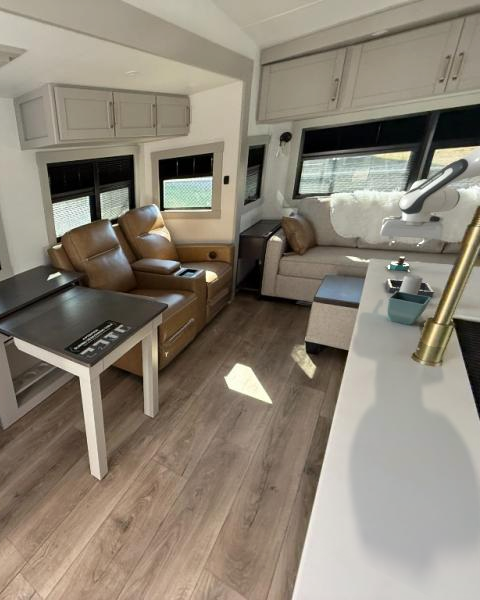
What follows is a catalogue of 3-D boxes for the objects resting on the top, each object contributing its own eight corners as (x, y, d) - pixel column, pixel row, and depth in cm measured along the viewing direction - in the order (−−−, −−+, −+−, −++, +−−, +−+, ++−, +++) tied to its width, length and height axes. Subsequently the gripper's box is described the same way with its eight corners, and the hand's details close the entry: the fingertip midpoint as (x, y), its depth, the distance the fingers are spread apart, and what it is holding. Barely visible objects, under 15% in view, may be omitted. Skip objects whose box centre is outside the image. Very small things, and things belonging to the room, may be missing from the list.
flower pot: (381, 320, 112) (388, 297, 108) (388, 313, 116) (396, 290, 112) (415, 329, 105) (424, 304, 101) (422, 320, 109) (431, 297, 106)
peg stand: (407, 269, 154) (411, 256, 151) (409, 273, 149) (414, 260, 146) (387, 267, 158) (391, 254, 155) (388, 271, 153) (392, 258, 150)
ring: (406, 267, 153) (408, 262, 153) (408, 271, 149) (410, 266, 148) (388, 266, 157) (390, 261, 156) (390, 269, 153) (391, 265, 152)
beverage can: (391, 304, 122) (401, 275, 117) (402, 303, 122) (412, 273, 118) (404, 309, 118) (415, 279, 113) (416, 307, 118) (427, 277, 113)
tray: (426, 288, 132) (428, 282, 131) (431, 298, 124) (433, 292, 123) (385, 284, 140) (387, 278, 139) (388, 293, 131) (389, 287, 130)
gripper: (384, 217, 147) (376, 246, 152) (449, 218, 135) (437, 249, 141) (383, 214, 152) (375, 243, 157) (445, 216, 140) (434, 246, 145)
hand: (404, 246), depth 149 cm, fingers open, 8 cm apart
